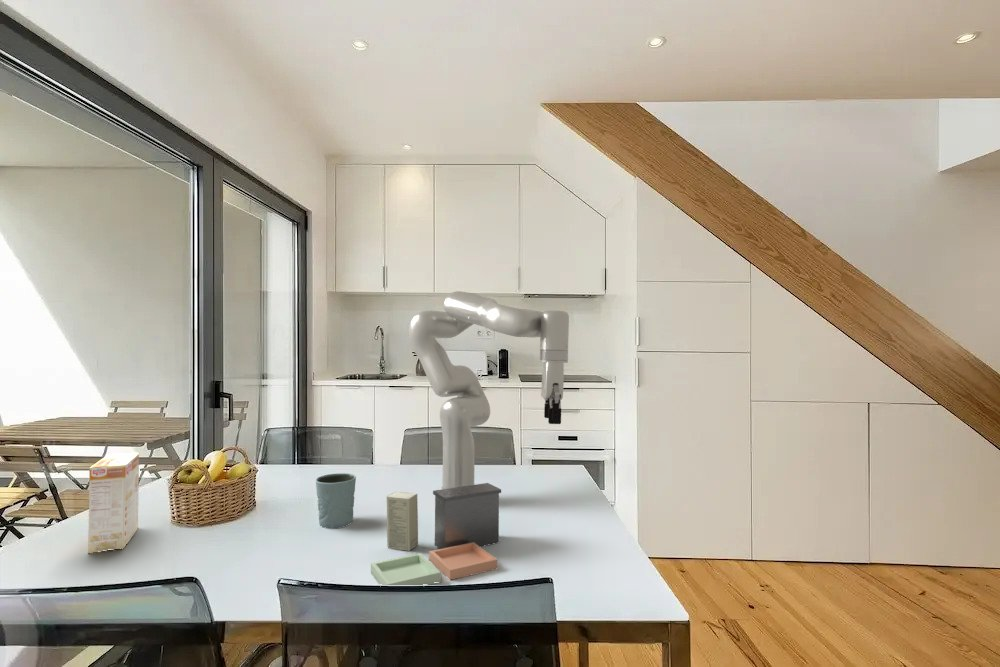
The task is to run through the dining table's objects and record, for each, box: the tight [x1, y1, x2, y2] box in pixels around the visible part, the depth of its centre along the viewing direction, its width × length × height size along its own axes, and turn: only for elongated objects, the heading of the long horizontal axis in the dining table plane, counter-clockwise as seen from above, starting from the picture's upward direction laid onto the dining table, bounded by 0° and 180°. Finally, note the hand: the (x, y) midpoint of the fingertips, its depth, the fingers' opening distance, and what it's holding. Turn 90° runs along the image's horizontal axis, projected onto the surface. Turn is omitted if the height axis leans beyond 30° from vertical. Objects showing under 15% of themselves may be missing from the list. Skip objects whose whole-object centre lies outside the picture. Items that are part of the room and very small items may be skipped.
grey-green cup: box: [315, 472, 357, 529], centre depth 139 cm, size 10×10×12 cm
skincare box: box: [386, 491, 419, 552], centre depth 123 cm, size 6×4×12 cm
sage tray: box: [370, 552, 442, 585], centre depth 107 cm, size 11×11×2 cm
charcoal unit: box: [432, 482, 502, 549], centre depth 125 cm, size 7×15×13 cm, turn 120°
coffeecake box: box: [87, 452, 140, 554], centre depth 126 cm, size 15×7×20 cm, turn 23°
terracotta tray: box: [428, 542, 498, 581], centre depth 113 cm, size 11×11×2 cm
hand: (552, 420), depth 140 cm, fingers open, 9 cm apart
